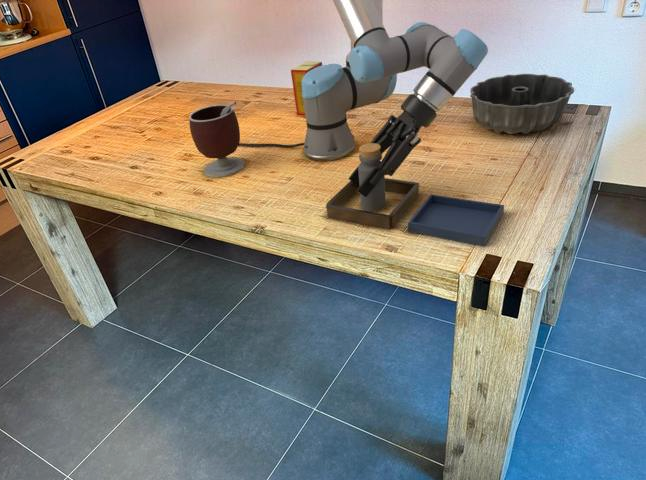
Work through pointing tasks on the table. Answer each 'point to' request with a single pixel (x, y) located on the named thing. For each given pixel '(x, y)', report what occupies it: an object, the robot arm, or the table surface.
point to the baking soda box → (297, 83)
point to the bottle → (369, 160)
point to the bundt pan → (520, 102)
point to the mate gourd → (217, 138)
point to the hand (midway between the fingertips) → (357, 187)
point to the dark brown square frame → (373, 218)
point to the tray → (456, 219)
